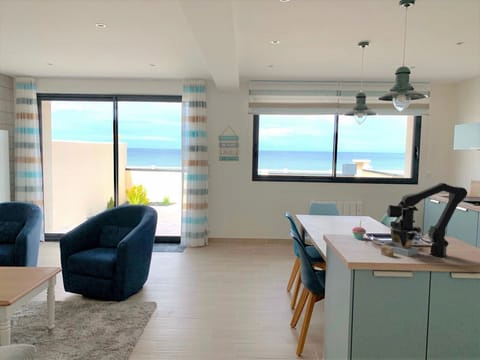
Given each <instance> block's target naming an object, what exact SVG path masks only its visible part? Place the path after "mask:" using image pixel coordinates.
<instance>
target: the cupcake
mask: <svg viewBox="0 0 480 360" xmlns="http://www.w3.org/2000/svg"><path fill="white" fill-rule="evenodd" d="M351 233H352V234H353V236H354V238H355V239H357V240H362V239H363V238H364V236H365V235H366V234H367V230H366V228H363V227H362V220H360V221H359V226H356V227H354V228H352V229H351Z"/></svg>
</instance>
